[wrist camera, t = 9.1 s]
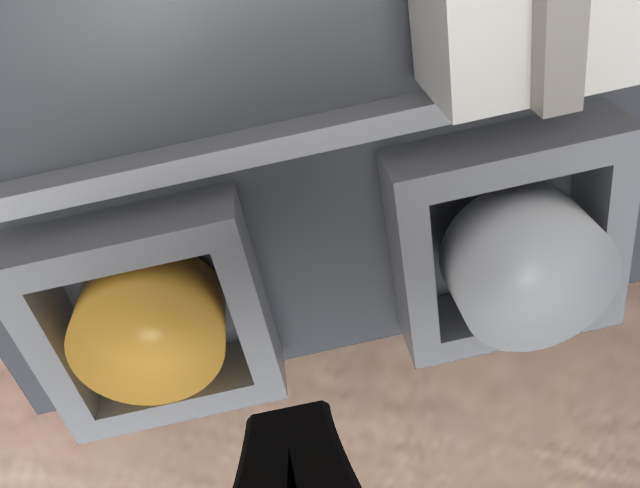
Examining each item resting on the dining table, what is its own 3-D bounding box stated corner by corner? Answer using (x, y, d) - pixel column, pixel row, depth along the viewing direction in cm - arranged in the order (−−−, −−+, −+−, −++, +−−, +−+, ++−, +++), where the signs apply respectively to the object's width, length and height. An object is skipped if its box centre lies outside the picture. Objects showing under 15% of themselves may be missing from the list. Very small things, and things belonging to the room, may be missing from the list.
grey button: (586, 166, 15) (630, 203, 14) (576, 287, 18) (613, 333, 16) (433, 199, 15) (459, 241, 14) (443, 317, 18) (465, 366, 16)
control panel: (670, -264, 13) (817, -303, 10) (611, 246, 21) (683, 319, 18) (-214, -78, 13) (-363, -55, 10) (52, 370, 21) (19, 467, 18)
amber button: (203, 229, 16) (200, 272, 14) (240, 338, 18) (242, 387, 17) (56, 261, 16) (36, 309, 14) (111, 367, 18) (99, 418, 17)
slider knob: (583, -115, 13) (692, -106, 10) (574, 44, 15) (662, 92, 12) (401, -76, 13) (453, -55, 10) (414, 79, 15) (462, 137, 12)
